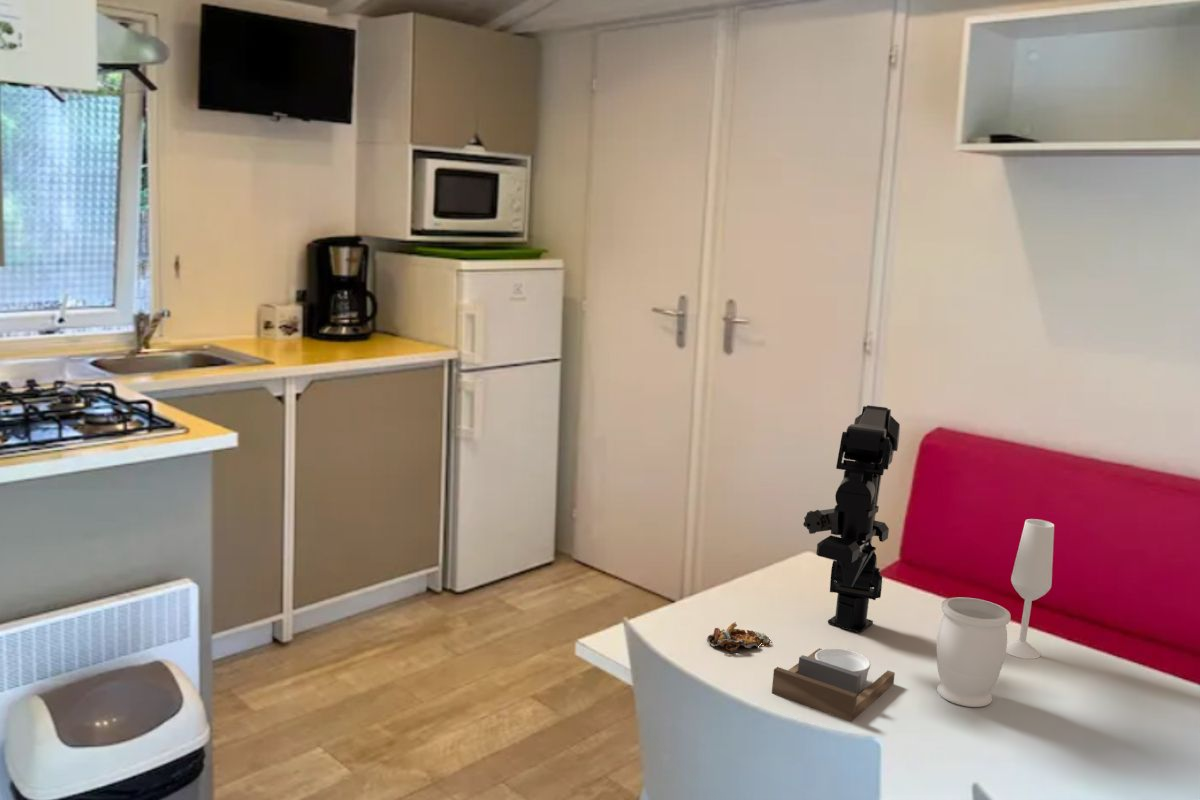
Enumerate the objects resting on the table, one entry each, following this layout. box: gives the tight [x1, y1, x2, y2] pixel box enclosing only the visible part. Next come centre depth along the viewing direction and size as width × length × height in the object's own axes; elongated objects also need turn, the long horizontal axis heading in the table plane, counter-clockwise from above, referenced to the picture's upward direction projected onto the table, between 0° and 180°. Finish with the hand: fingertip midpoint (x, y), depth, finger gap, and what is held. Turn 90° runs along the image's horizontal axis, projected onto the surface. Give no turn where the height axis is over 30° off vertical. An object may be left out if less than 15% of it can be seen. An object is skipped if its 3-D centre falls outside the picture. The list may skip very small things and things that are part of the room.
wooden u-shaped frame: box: [771, 647, 896, 722], centre depth 168 cm, size 17×13×4 cm
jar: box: [936, 596, 1012, 708], centre depth 167 cm, size 11×10×15 cm
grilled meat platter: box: [706, 621, 772, 657], centre depth 183 cm, size 7×12×4 cm, turn 125°
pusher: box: [798, 654, 861, 696], centre depth 166 cm, size 2×10×4 cm, turn 54°
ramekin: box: [815, 647, 871, 693], centre depth 170 cm, size 9×9×4 cm
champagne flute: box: [1006, 518, 1055, 660], centre depth 186 cm, size 7×7×24 cm
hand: (848, 586), depth 181 cm, fingers closed
